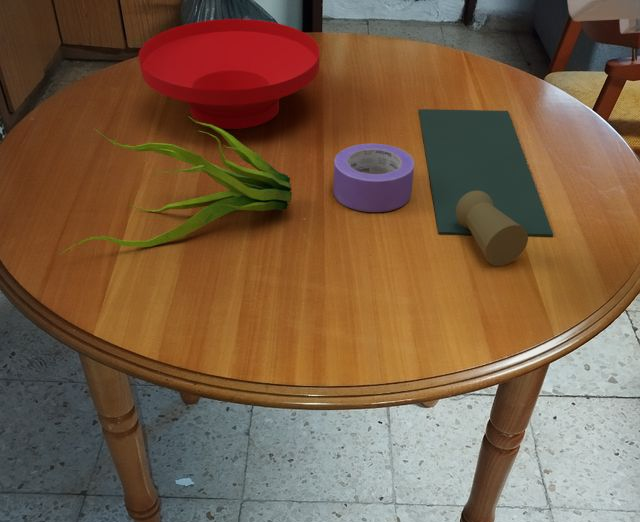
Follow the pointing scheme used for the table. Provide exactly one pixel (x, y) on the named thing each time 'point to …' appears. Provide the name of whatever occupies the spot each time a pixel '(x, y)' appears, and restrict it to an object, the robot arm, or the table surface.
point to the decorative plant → (244, 185)
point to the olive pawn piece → (491, 228)
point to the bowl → (230, 68)
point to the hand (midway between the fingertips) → (632, 26)
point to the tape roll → (373, 177)
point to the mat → (479, 167)
